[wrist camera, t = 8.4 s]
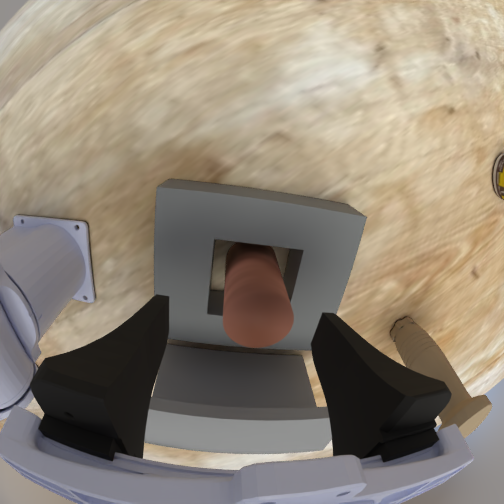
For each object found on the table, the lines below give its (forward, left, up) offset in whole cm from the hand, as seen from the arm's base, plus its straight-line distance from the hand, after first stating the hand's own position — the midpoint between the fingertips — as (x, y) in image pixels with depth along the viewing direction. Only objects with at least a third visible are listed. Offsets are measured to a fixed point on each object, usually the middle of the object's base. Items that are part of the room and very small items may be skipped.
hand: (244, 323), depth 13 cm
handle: (+19, -8, -10) cm, 23 cm away
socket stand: (+1, -4, -10) cm, 11 cm away
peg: (+1, -1, -10) cm, 10 cm away
